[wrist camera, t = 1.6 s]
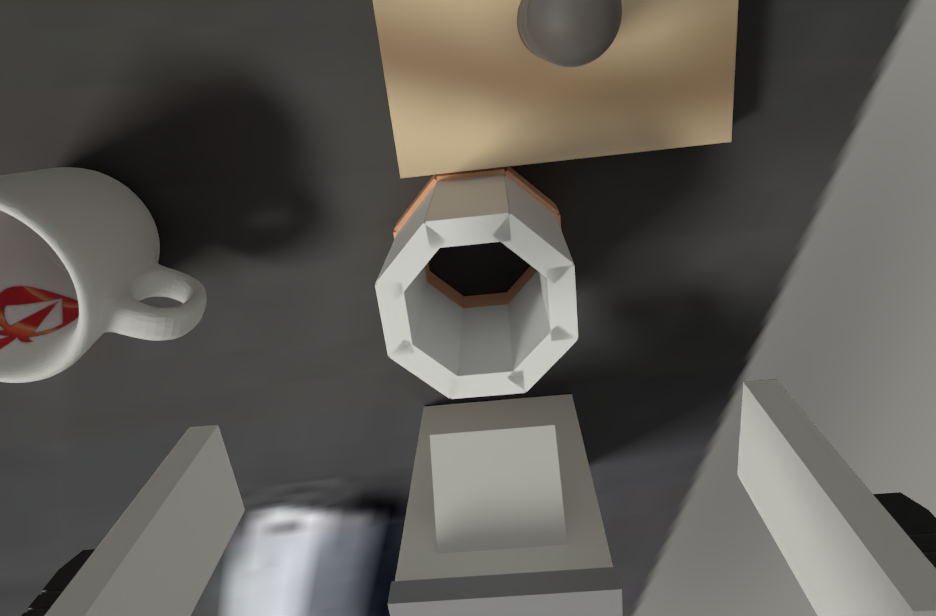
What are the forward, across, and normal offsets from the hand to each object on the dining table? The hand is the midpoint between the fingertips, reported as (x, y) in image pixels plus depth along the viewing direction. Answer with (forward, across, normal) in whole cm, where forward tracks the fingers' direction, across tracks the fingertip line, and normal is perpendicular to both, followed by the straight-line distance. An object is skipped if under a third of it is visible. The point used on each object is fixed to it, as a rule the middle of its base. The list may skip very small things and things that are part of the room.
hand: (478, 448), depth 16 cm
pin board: (+16, +4, +15) cm, 22 cm away
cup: (+16, -17, +2) cm, 24 cm away
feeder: (+16, 0, -9) cm, 18 cm away
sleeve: (+16, 0, 0) cm, 16 cm away
